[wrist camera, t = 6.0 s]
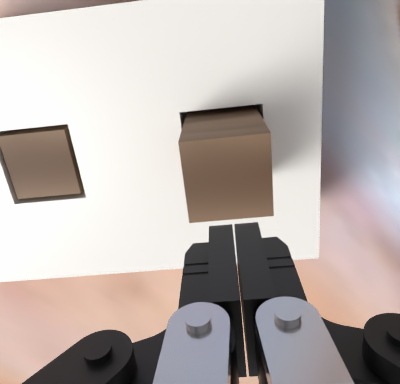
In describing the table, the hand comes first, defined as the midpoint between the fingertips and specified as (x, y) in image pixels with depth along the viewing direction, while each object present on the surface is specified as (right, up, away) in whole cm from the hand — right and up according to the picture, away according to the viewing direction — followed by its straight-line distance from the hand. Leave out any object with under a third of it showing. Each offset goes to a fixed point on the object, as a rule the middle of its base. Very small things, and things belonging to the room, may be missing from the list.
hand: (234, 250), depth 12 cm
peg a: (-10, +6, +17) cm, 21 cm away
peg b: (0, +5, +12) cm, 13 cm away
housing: (-5, +7, +18) cm, 20 cm away
